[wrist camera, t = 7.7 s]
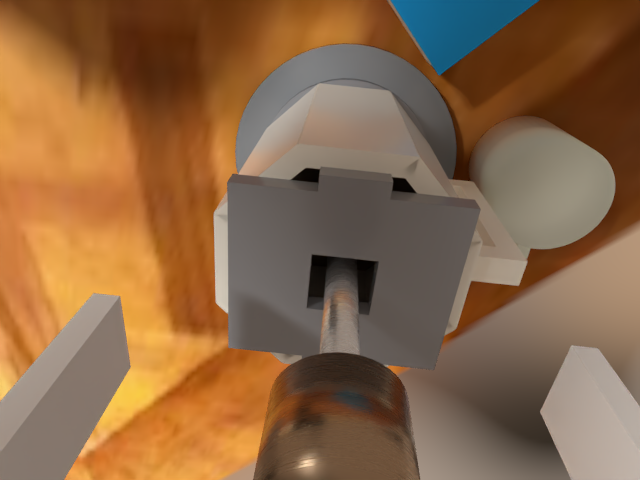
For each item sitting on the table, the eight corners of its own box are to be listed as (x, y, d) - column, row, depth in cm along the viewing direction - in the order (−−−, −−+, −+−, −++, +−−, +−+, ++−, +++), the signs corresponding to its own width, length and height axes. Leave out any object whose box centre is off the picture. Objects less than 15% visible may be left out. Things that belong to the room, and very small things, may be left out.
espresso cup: (482, 110, 27) (514, 137, 22) (580, 120, 27) (635, 150, 22) (453, 218, 31) (475, 264, 26) (540, 228, 31) (580, 275, 26)
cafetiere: (266, 69, 26) (195, 130, 14) (483, 92, 26) (599, 173, 14) (261, 227, 31) (205, 373, 19) (443, 247, 31) (504, 406, 19)
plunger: (311, 167, 22) (248, 456, 8) (384, 175, 22) (444, 478, 8) (305, 232, 24) (245, 561, 10) (373, 239, 24) (407, 579, 10)
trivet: (238, 31, 26) (235, 32, 25) (479, 56, 26) (482, 58, 25) (237, 241, 33) (235, 247, 32) (428, 262, 33) (430, 268, 32)
